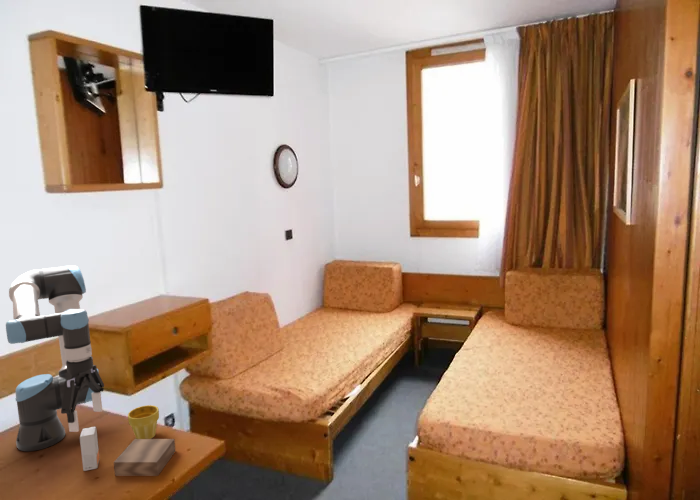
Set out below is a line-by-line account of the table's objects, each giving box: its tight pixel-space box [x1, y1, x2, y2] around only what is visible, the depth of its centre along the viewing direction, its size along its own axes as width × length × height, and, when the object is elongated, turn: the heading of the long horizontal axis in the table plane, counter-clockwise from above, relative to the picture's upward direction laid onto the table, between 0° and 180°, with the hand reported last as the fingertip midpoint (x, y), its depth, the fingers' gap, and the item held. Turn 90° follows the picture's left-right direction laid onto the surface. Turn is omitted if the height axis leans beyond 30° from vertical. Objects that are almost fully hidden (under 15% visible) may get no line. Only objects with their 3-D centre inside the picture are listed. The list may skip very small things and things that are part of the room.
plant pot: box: [127, 404, 160, 439], centre depth 181 cm, size 10×10×10 cm
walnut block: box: [113, 438, 176, 477], centre depth 164 cm, size 14×14×5 cm
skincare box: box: [79, 426, 100, 472], centre depth 163 cm, size 6×4×12 cm
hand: (86, 420), depth 162 cm, fingers open, 13 cm apart
